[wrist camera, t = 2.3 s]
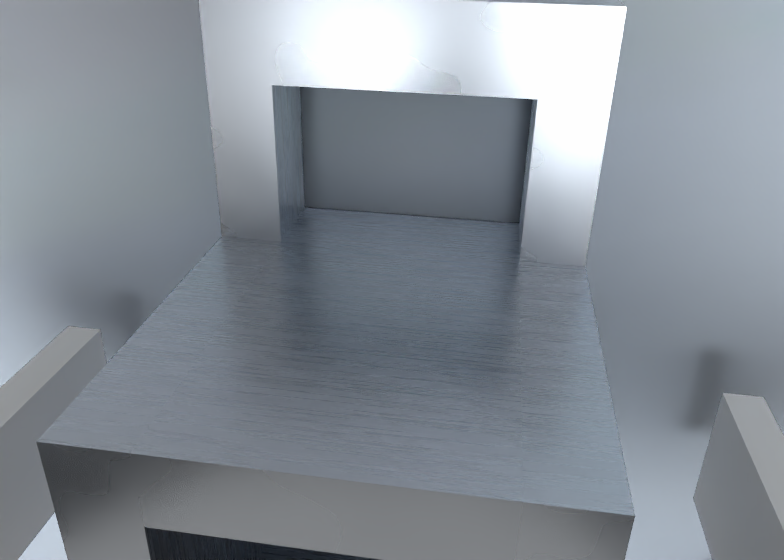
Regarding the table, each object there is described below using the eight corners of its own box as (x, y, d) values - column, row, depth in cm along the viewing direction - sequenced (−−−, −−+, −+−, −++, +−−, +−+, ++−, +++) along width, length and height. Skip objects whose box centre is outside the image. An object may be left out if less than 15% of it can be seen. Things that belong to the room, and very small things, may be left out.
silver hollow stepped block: (234, -19, 14) (-69, 56, 7) (613, -6, 13) (734, 98, 6) (279, 570, 21) (160, 903, 14) (520, 604, 20) (524, 979, 13)
